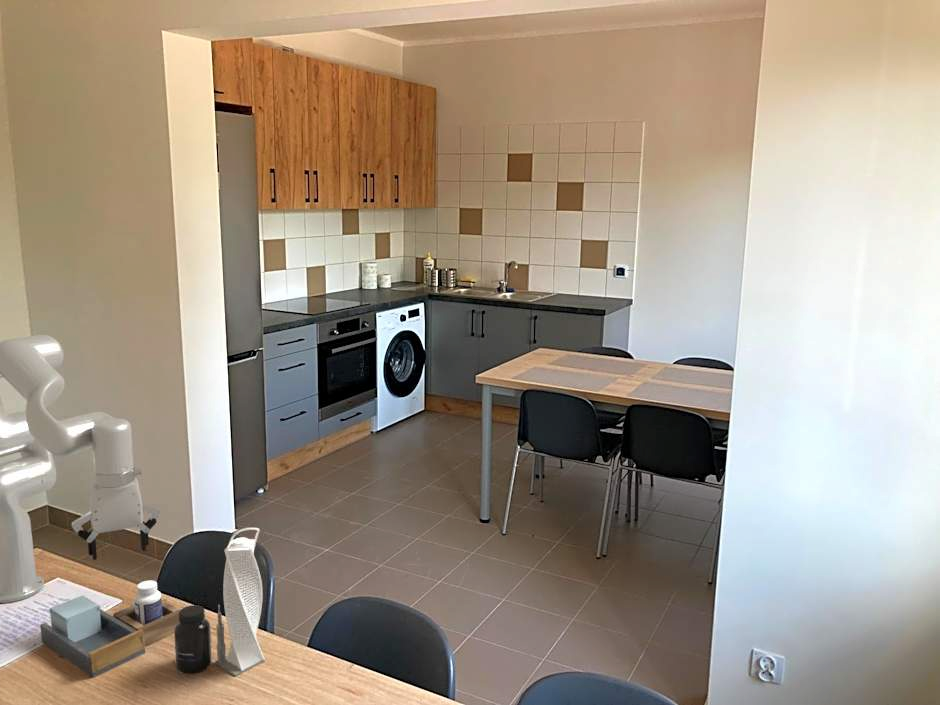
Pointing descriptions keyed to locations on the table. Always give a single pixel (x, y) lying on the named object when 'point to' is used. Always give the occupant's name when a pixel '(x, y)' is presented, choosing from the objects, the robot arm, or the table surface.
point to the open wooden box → (155, 628)
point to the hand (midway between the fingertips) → (119, 552)
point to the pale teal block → (76, 618)
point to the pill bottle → (148, 602)
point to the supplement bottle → (192, 640)
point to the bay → (98, 645)
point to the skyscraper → (240, 607)
